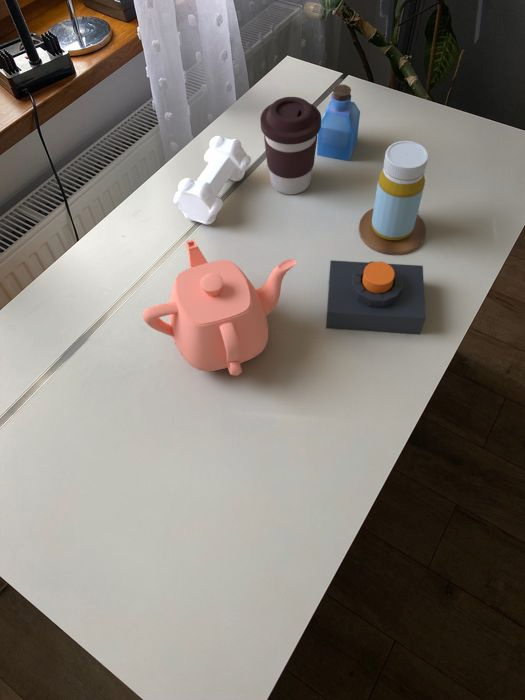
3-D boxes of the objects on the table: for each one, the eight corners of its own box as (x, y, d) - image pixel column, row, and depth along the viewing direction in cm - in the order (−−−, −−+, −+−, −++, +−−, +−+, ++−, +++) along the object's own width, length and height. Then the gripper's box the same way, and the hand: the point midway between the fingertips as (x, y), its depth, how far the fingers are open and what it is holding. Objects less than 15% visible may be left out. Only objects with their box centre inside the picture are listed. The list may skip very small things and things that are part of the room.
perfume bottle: (316, 155, 113) (319, 97, 103) (325, 134, 116) (329, 76, 106) (349, 161, 111) (355, 103, 101) (356, 140, 115) (363, 82, 105)
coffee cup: (251, 180, 109) (247, 107, 97) (292, 156, 113) (293, 82, 100) (288, 209, 105) (288, 136, 93) (329, 183, 108) (334, 109, 96)
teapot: (197, 283, 97) (185, 223, 85) (296, 314, 93) (297, 254, 81) (150, 363, 89) (130, 308, 77) (255, 400, 85) (251, 348, 73)
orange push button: (392, 271, 89) (394, 262, 88) (392, 294, 87) (394, 285, 85) (362, 269, 90) (364, 260, 88) (362, 292, 87) (363, 283, 86)
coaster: (423, 209, 104) (424, 206, 103) (426, 257, 98) (427, 254, 97) (359, 206, 105) (359, 203, 104) (358, 253, 99) (358, 250, 98)
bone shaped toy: (218, 232, 103) (213, 196, 96) (174, 219, 105) (166, 182, 98) (254, 176, 110) (252, 139, 103) (212, 165, 112) (207, 128, 105)
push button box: (417, 283, 95) (425, 257, 90) (420, 335, 90) (427, 310, 85) (328, 277, 96) (331, 252, 91) (325, 328, 91) (328, 304, 86)
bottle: (366, 237, 100) (378, 165, 87) (376, 209, 103) (388, 135, 91) (408, 246, 98) (426, 174, 86) (416, 217, 102) (435, 143, 89)
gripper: (527, -104, 90) (509, 49, 94) (359, -104, 92) (349, 46, 97) (546, -133, 83) (525, 34, 87) (363, -132, 85) (352, 31, 89)
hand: (433, 41), depth 92 cm, fingers open, 13 cm apart
